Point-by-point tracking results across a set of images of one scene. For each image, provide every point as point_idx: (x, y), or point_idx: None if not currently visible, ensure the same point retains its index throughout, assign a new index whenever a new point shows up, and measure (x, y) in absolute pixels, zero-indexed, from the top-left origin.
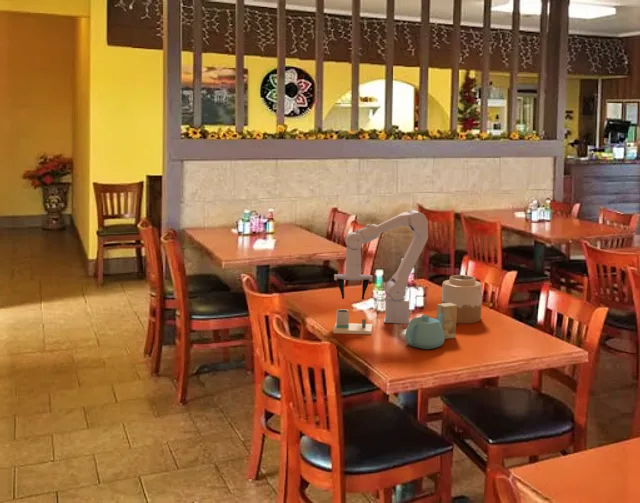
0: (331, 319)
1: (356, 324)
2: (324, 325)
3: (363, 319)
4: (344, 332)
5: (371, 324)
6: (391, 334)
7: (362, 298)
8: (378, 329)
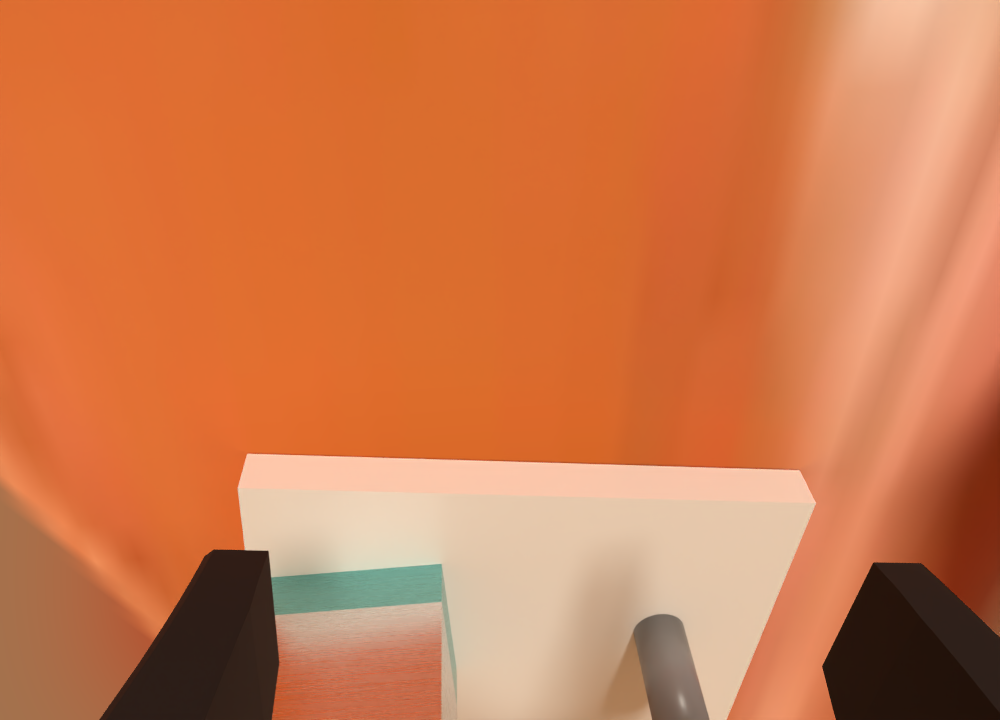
0: (56, 70)
1: (568, 541)
2: (61, 447)
3: None
4: None
5: (792, 523)
6: None
7: (846, 697)
8: (850, 547)
